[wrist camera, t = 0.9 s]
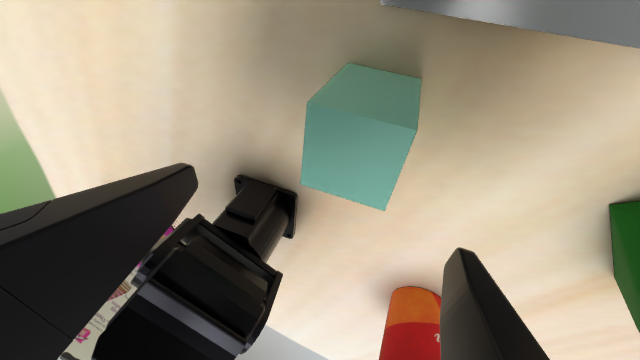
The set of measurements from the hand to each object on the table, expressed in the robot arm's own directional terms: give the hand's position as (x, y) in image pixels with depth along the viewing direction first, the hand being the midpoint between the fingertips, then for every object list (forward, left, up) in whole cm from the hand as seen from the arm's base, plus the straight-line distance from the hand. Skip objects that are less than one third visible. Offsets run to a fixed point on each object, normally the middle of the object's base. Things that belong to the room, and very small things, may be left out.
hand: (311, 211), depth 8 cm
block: (0, 0, -11) cm, 11 cm away
